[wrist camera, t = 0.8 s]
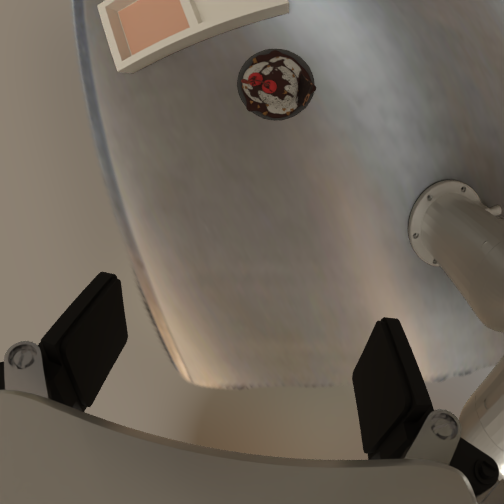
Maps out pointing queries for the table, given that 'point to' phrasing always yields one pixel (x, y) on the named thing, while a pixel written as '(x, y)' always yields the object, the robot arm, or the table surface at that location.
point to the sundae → (275, 84)
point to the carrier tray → (174, 25)
